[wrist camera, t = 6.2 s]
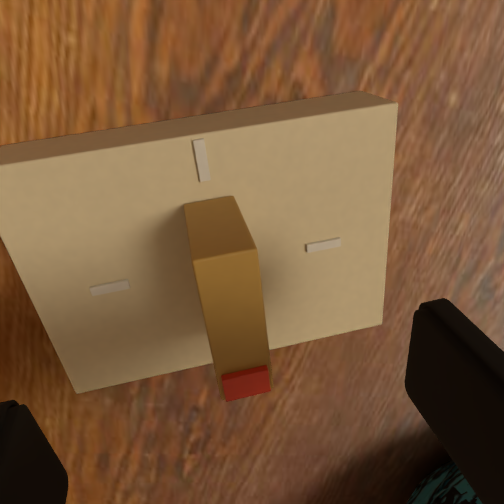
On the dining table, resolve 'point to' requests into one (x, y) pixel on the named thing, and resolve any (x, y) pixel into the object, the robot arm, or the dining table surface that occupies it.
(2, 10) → the dining table surface
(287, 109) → the lock plate
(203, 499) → the dining table surface
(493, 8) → the dining table surface
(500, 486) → the robot arm
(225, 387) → the lock knob
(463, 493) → the decorative sphere
